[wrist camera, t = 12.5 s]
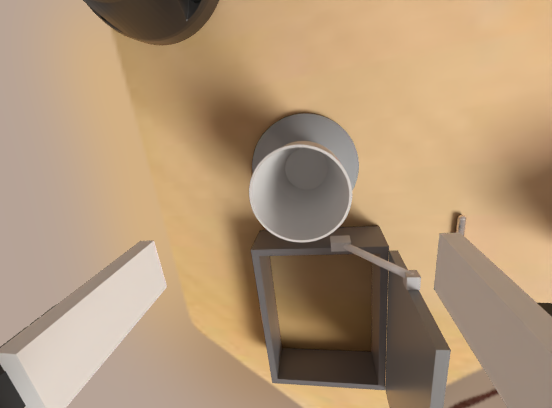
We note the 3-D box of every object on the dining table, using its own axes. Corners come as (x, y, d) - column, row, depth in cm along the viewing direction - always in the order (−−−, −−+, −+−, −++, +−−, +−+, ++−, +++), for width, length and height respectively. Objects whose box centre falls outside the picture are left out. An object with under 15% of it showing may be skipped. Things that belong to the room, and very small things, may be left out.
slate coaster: (246, 119, 30) (245, 120, 30) (357, 107, 28) (358, 107, 28) (260, 218, 34) (259, 220, 34) (358, 213, 32) (359, 215, 32)
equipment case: (255, 223, 35) (201, 325, 19) (387, 217, 32) (454, 332, 16) (275, 351, 42) (247, 505, 26) (383, 356, 39) (428, 531, 23)
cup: (333, 208, 32) (338, 251, 22) (266, 195, 32) (244, 231, 23) (350, 138, 29) (364, 154, 20) (276, 126, 30) (255, 136, 20)
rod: (456, 214, 30) (460, 216, 30) (464, 213, 30) (467, 216, 30) (448, 280, 33) (451, 284, 33) (456, 280, 33) (459, 284, 32)
